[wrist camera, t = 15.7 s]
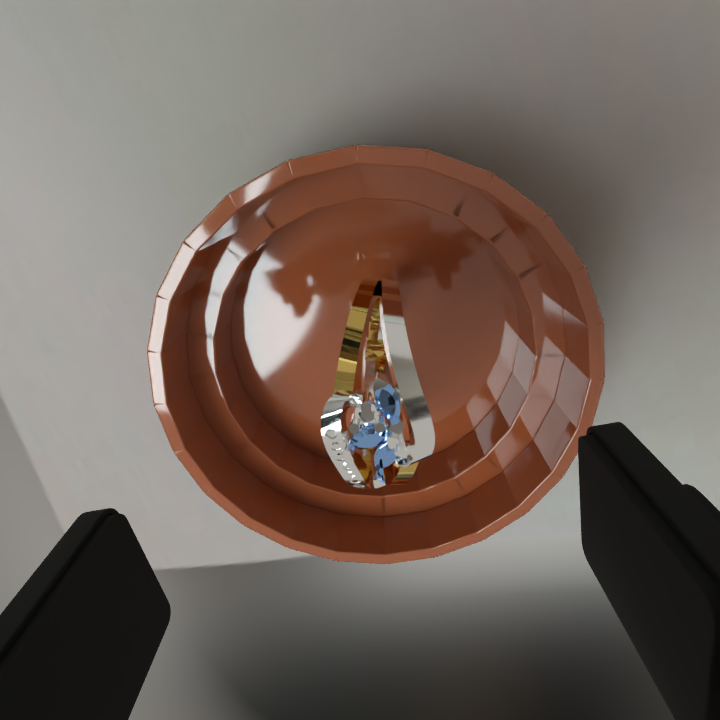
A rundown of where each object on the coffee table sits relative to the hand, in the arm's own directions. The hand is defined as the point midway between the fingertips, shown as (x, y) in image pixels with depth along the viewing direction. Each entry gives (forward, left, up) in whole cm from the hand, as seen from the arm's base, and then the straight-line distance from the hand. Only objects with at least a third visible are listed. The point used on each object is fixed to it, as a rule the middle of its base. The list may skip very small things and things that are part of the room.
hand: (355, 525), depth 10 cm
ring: (0, 0, -11) cm, 11 cm away
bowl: (0, 0, -12) cm, 12 cm away
